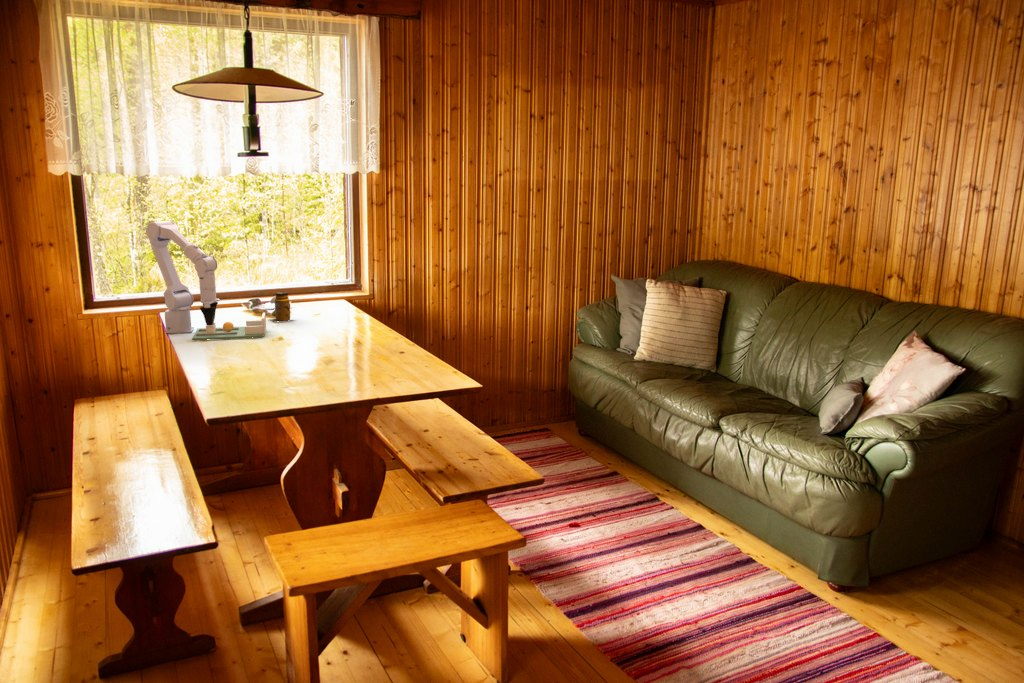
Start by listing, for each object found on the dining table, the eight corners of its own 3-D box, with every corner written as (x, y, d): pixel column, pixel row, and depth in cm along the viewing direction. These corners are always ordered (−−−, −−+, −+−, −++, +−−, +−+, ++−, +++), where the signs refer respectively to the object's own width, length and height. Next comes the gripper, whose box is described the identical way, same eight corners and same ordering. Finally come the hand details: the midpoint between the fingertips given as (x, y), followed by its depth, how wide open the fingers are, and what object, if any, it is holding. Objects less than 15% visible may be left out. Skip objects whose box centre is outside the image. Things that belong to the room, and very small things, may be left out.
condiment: (294, 320, 349) (292, 292, 347) (276, 323, 344) (274, 295, 341) (285, 317, 354) (284, 290, 352) (267, 320, 349) (266, 292, 346)
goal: (245, 334, 317) (244, 319, 316) (246, 328, 329) (245, 313, 327) (265, 333, 319) (264, 318, 318) (266, 327, 330) (265, 312, 329)
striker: (206, 333, 316) (204, 316, 315) (207, 330, 322) (206, 313, 321) (214, 333, 317) (213, 315, 316) (215, 330, 323) (214, 313, 321)
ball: (222, 333, 319) (222, 323, 318) (223, 331, 323) (222, 321, 322) (233, 332, 320) (232, 322, 319) (234, 330, 324) (233, 320, 323)
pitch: (192, 340, 310) (191, 336, 310) (197, 330, 327) (197, 326, 327) (263, 337, 316) (263, 333, 316) (265, 328, 333) (264, 323, 333)
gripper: (217, 290, 310) (219, 325, 313) (220, 285, 324) (222, 318, 327) (197, 291, 308) (200, 326, 311) (201, 285, 322) (204, 319, 325)
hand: (210, 322), depth 319 cm, fingers open, 7 cm apart
